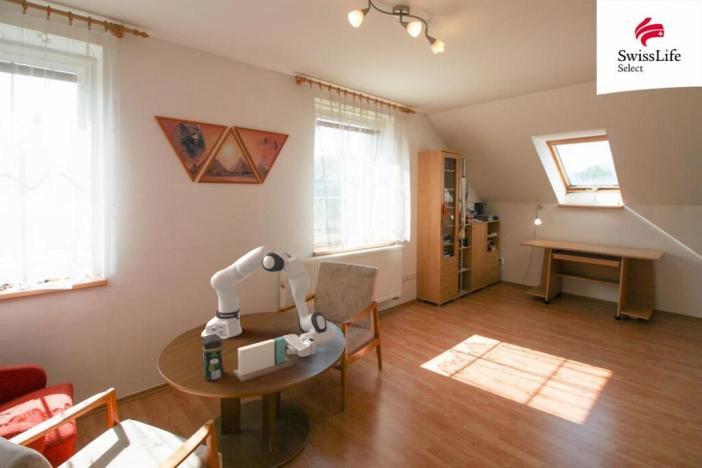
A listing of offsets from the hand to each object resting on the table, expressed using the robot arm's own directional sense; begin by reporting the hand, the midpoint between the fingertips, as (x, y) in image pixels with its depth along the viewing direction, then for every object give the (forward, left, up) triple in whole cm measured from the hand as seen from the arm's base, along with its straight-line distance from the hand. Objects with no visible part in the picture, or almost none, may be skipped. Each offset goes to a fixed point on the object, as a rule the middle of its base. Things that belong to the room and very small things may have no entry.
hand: (281, 348), depth 169 cm
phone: (-33, -3, -8) cm, 34 cm away
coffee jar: (-30, -11, -8) cm, 33 cm away
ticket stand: (-8, -5, -7) cm, 12 cm away
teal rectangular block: (-1, -1, -6) cm, 6 cm away
